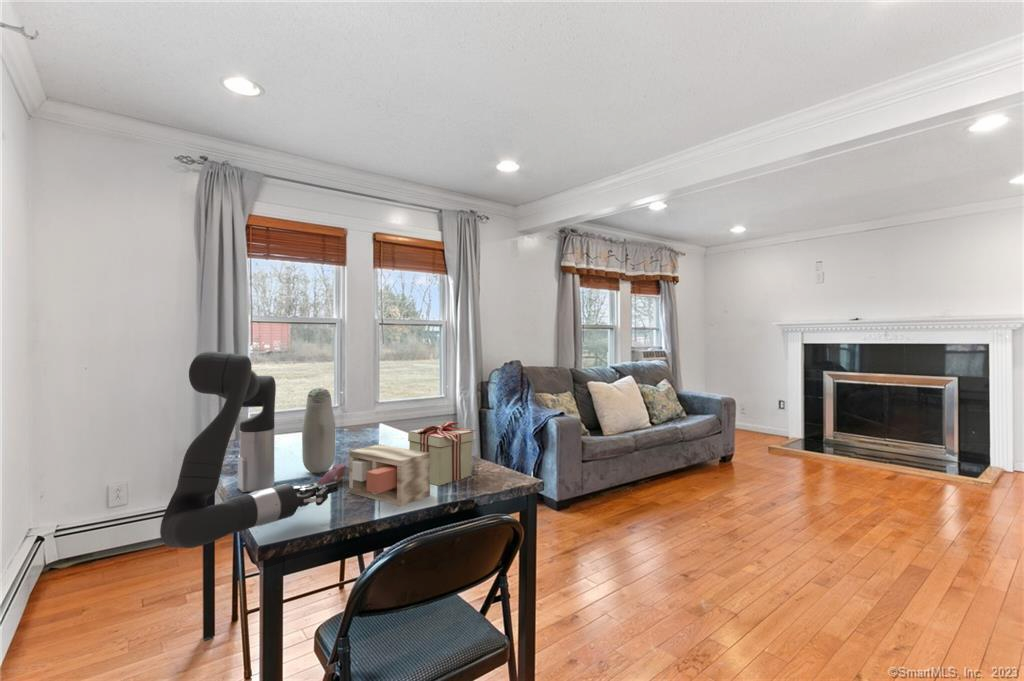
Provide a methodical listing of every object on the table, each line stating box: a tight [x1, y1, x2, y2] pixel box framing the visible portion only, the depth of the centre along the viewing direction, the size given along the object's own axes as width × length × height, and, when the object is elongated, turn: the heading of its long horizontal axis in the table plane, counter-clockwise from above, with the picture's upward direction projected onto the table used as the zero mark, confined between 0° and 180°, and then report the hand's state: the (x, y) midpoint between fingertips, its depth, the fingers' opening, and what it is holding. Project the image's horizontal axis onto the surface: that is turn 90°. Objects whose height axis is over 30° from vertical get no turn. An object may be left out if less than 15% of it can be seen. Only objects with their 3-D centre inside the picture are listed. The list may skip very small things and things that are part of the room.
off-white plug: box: [352, 459, 372, 481], centre depth 141 cm, size 8×4×5 cm, turn 147°
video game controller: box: [316, 463, 349, 486], centre depth 150 cm, size 10×5×7 cm, turn 169°
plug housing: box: [348, 443, 431, 507], centre depth 139 cm, size 11×21×12 cm, turn 57°
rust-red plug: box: [367, 465, 397, 493], centre depth 130 cm, size 8×4×5 cm, turn 147°
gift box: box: [407, 421, 477, 487], centre depth 157 cm, size 17×18×17 cm
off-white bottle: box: [301, 387, 336, 474], centre depth 163 cm, size 10×10×28 cm
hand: (336, 486), depth 123 cm, fingers closed
